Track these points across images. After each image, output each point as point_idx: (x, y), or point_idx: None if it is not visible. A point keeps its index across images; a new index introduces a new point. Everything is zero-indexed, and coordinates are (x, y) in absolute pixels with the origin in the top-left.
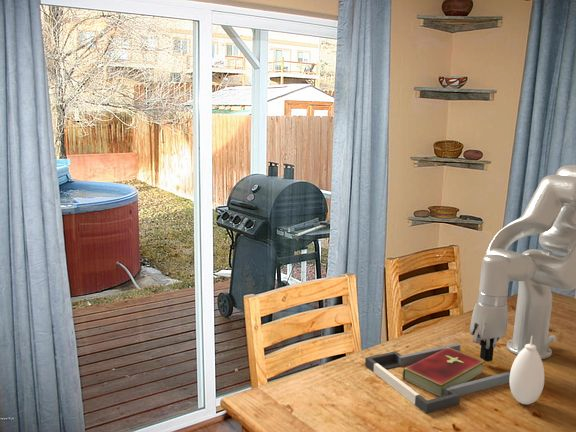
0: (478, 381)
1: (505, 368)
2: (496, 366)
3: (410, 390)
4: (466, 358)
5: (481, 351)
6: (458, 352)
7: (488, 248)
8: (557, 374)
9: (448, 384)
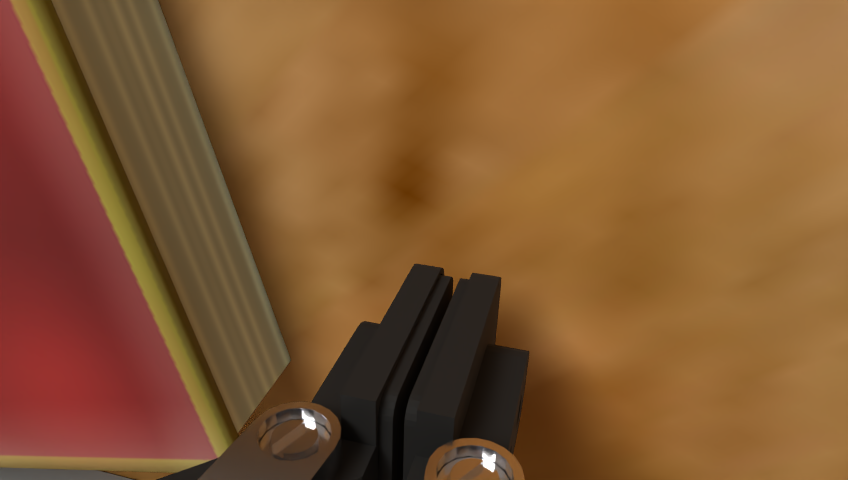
0: None
1: (625, 454)
2: (572, 376)
3: None
4: (64, 309)
5: (335, 374)
6: (44, 126)
7: None
8: None
9: None
